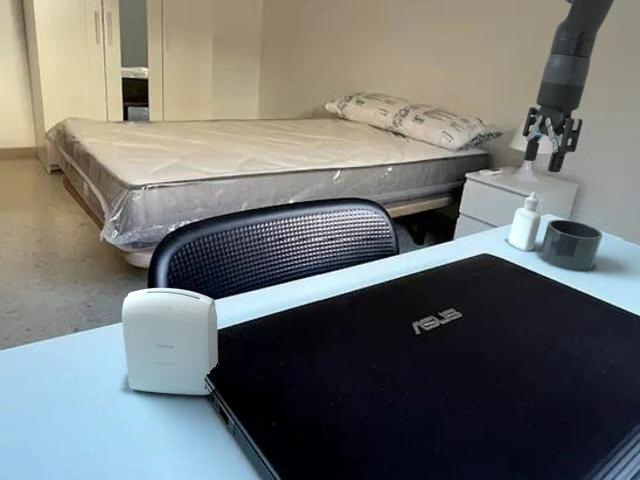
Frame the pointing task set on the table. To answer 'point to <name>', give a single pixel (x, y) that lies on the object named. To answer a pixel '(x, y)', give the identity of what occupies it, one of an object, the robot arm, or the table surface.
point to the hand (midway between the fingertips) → (540, 165)
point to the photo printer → (169, 340)
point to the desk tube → (570, 245)
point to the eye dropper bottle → (525, 225)
